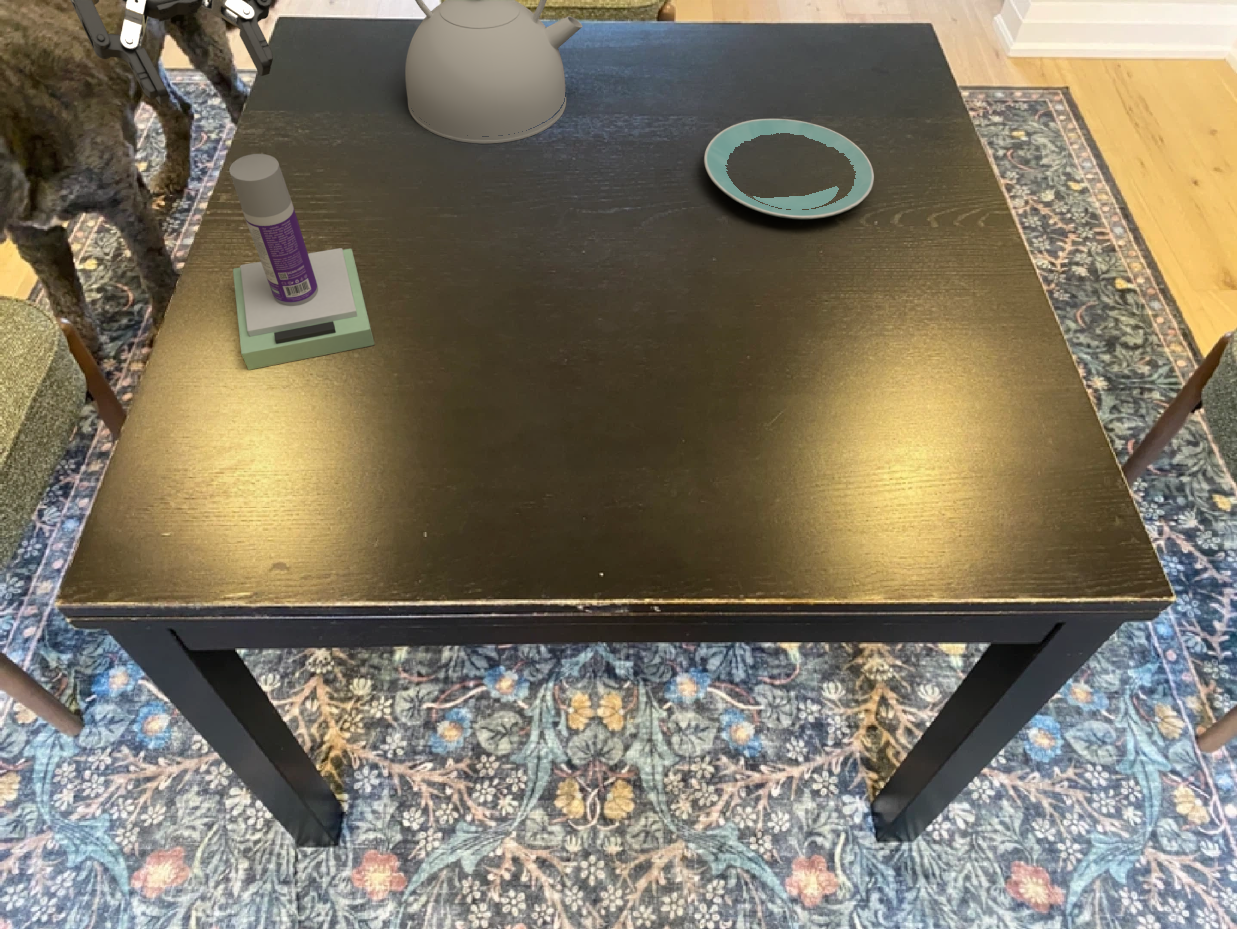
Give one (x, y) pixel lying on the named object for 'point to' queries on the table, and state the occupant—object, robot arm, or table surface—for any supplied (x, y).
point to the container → (274, 228)
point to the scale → (302, 313)
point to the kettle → (486, 70)
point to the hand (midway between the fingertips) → (216, 85)
